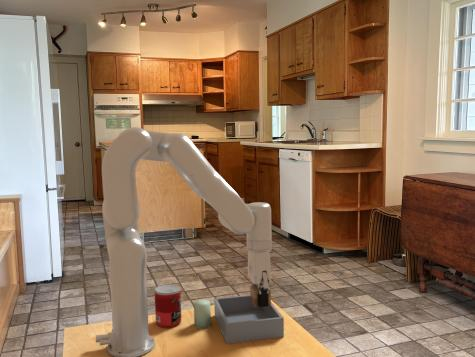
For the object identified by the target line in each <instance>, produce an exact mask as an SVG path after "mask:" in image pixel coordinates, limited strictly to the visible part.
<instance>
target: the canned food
mask: <svg viewBox="0 0 475 357" xmlns="http://www.w3.org/2000/svg"><path fill="white" fill-rule="evenodd" d="M154 308H155V309H154V310H155V311H154V312H155V314H154V315H155V324H156V326H158V327H159V328H163V329H172V328H175V327H177V326H179V325H180V324H181V322H182V292H181V287H180V286H179V285H176V284H169V283H168V284H162V285H158V286H156V287H155V288H154Z"/></svg>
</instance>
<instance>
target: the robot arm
mask: <svg viewBox="0 0 475 357" xmlns="http://www.w3.org/2000/svg"><path fill="white" fill-rule="evenodd" d="M141 160H144V161H151V162H152V161H154V162H162V163H163V162H164V163H169V164H170V166H171V167H172V168H173V169H174V170H175V172H177V174H178V175H179V176H180V177H181V178H182V180H184V182H185V183H186V184H187V186H189V188H190V189H191V190H192V191H193V193H195V195H197V196H198V197H199V198H201V199H202V200H203V201H205V202H206V204H208V205H210V207H211V208H212V209H213V210H215V211H216V212H217V218H218V221H219V223H220V224H221V225H222V226H223V227H225V228H226V229H228V230H229V231H231V232H233V233H234V234H236V235H246V250H247V276H248V279H250V281H251V283H252V285H258V292H259V294H257V295H258V307H265V306H268V305H269V301H268V289H269V288H270V285H269V284H270V283H271V281H272V278H271V277H272V271H271V270H272V269H271V254H270V251H272V249H273V242H272V241H273V238H272V234H273V233H272V208H271V205H270V204H269V203H268V202H259V201H257V202H251V203H245V200H243V199H242V197H240V195H239V194H238V193H237V192H236V191H235V190H234V189H233V188H232V187H231V185H230V184H228V182H226V180H225V179H224V178H223V177H222V176H221V174H219V173H218V172H217V171H216V169H215V168H214V167H213V165H211V163H210V162H209V161H208V160H207V158H206V157H205V156H204V155H203V154H202V152H201V151H200V150H199V148H198V147H197V146H196V145H195V144H194V142H193V141H192V140H191V139H190V138H189V137H188V136H187V135H185V134H183V133H177V132H176V133H175V132H174V133H171V132H160V131H153V130H146V129H144V128H142V127H137V126H136V127H135V126H134V127H128V128H125V129H123V130H122V131H121V132H120V133H119V134H118V136H117V137H116V138H114V140H112V141H111V143H110V144H109V145H108V147H107V149H106V150H105V153H104V155H103V158H102V163H101V178H102V190H103V199H104V200H103V202H102V208H101V209H102V211H101V212H102V219H103V228H104V234H105V237H104V238H105V242H106V249H107V254H108V260H109V261H108V262H109V284H110V285H109V286H110V304H111V305H110V306H111V322H112V323H111V325H112V326H111V327H112V329H111V332H108V333H106V334H95V343H99V346H105V345H107V346H106V347H107V348H106V350H107V353H108V354H109V355H111V356H112V357H140V356H144V355H146V354H148V353H150V352H151V351H152V350H153V348H154V347H155V344H156V343H155V342H156V340H155V338H154V337H153V335H150V333H149V306H148V290H147V288H148V287H147V285H148V284H147V270H148V269H147V265H148V254H147V252H148V251H147V247H146V245H145V243H144V241H143V239H142V238H141V236H140V235H141V234H140V228H139V219H140V214H141V209H140V202H139V198H138V189H137V188H138V187H137V178H136V173H137V172H136V171H137V166H138V164H139V162H140V161H141ZM262 285H263V287H262V288H261V286H262Z"/></svg>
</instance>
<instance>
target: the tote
mask: <svg viewBox="0 0 475 357" xmlns="http://www.w3.org/2000/svg"><path fill="white" fill-rule="evenodd" d="M213 299H214V301H213V302H214V303H213V304H214V305H213V306H214V318H215V321H216V323H217V324H218V327H219V329H220V332H221V334H222V336H223V338H224V340H225V343H226V344H227V345H229V344H236V343H237V344H238V343H245V342H253V341H261V340H269V339H277V338H284V337H285V333H284V332H285V330H284V329H285V327H284V326H285V322H284V321H285V320H284V317H283V315H282V313H280V312H279V310H278V309H277V308H276V306H275V305H274V304H273V303H272V302H271V306H265V307H254V306H253V304H252V303H251V295H250V294H246V295H245V294H244V295H236V296H228V297H226V296H225V297H219V298H218V297H217V298H213Z"/></svg>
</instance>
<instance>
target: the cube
mask: <svg viewBox="0 0 475 357" xmlns="http://www.w3.org/2000/svg"><path fill="white" fill-rule="evenodd" d="M262 287H263V285H262V286H261V288H262ZM249 289H250V294H249V295H251V303H252V304H253V306H254V307H258V295H257V294H259V292H258V285H250V287H249ZM271 290H272V289H271V288H270V287H269V289H268V301H269V305H268V306H271V303H272V295H271V294H272V291H271Z"/></svg>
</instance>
